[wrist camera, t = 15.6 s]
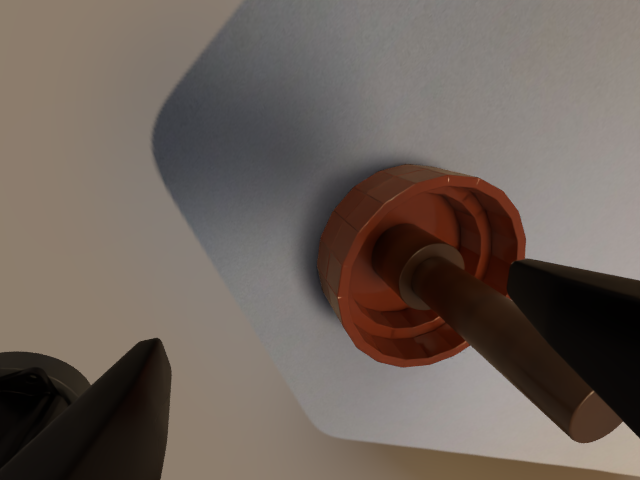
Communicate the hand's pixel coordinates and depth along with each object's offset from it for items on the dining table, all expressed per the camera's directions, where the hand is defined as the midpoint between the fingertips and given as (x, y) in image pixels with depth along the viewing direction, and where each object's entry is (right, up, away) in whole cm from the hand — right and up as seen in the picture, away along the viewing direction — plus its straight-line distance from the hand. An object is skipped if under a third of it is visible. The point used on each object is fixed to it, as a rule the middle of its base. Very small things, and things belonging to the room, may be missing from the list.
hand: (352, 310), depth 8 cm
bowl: (+5, +1, +16) cm, 17 cm away
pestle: (+5, +1, +15) cm, 16 cm away
